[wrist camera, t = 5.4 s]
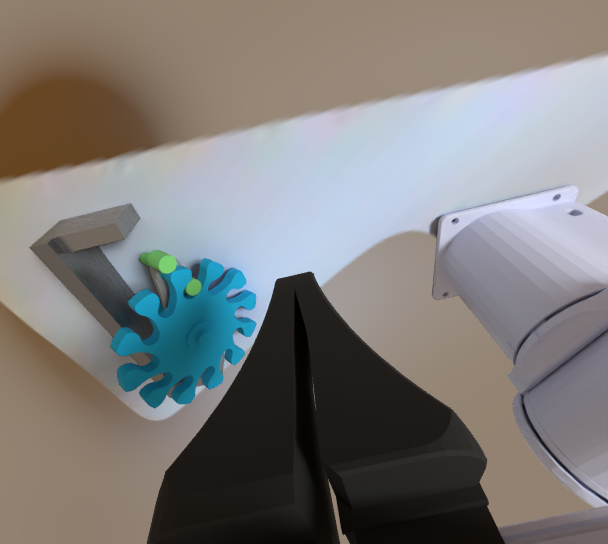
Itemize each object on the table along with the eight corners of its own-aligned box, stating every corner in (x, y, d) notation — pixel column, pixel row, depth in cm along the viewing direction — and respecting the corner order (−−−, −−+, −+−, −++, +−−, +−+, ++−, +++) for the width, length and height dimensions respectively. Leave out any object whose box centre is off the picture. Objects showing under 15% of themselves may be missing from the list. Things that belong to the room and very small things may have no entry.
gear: (270, 349, 25) (157, 446, 18) (226, 324, 28) (117, 397, 22) (248, 225, 19) (76, 299, 13) (197, 212, 23) (40, 265, 16)
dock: (131, 203, 18) (111, 227, 15) (224, 356, 27) (221, 386, 25) (59, 220, 18) (29, 247, 16) (177, 367, 27) (169, 397, 25)
